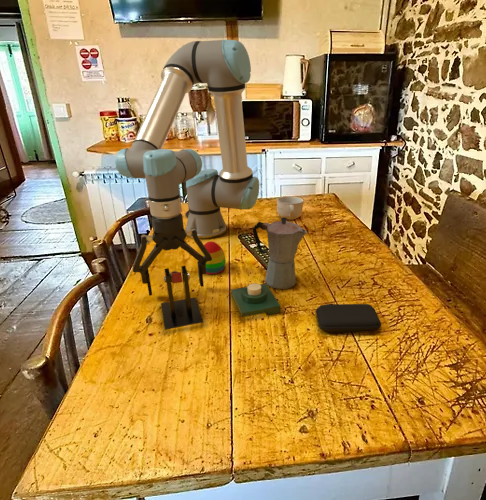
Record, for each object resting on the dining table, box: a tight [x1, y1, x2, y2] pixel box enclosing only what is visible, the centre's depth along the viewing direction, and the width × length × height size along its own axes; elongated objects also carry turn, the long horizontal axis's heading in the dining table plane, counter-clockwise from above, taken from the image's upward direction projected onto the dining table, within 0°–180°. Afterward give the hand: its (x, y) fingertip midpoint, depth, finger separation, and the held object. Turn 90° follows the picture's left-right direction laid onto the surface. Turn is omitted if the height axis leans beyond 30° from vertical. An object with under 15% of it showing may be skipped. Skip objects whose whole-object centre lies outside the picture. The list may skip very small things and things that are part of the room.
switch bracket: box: [160, 265, 204, 331], centre depth 97 cm, size 12×9×13 cm
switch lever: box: [170, 270, 183, 284], centre depth 100 cm, size 13×3×3 cm, turn 18°
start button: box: [246, 282, 261, 296], centre depth 102 cm, size 4×4×2 cm
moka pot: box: [251, 217, 308, 290], centre depth 111 cm, size 10×15×20 cm, turn 78°
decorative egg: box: [198, 240, 227, 275], centre depth 119 cm, size 8×8×10 cm
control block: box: [230, 283, 281, 318], centre depth 103 cm, size 12×10×4 cm
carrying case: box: [315, 302, 382, 333], centre depth 96 cm, size 11×3×15 cm
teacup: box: [276, 195, 304, 221], centre depth 162 cm, size 14×11×8 cm
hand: (176, 288), depth 107 cm, fingers open, 13 cm apart
